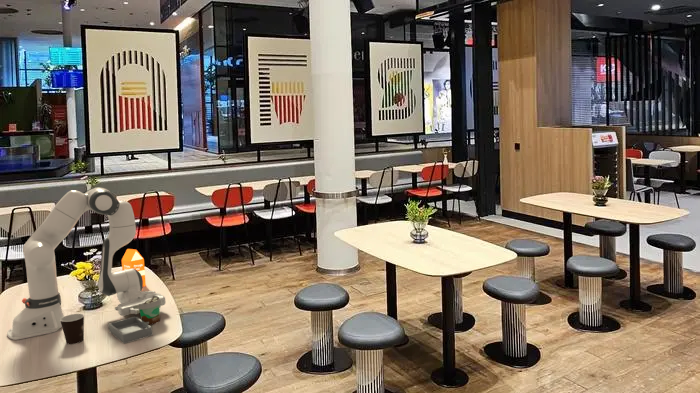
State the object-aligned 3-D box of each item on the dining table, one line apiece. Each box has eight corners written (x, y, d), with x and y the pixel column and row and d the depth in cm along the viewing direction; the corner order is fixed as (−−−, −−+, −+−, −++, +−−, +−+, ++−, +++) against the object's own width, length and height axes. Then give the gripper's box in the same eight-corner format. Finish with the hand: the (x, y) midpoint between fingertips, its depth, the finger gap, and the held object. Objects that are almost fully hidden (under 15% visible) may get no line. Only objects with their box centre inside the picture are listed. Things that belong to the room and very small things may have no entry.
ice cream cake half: (153, 327, 236) (151, 305, 234) (140, 327, 237) (138, 304, 236) (167, 316, 248) (165, 295, 246) (155, 316, 249) (153, 295, 248)
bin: (124, 343, 220) (123, 335, 220) (109, 331, 234) (108, 323, 233) (152, 335, 228) (151, 327, 227) (136, 323, 241) (135, 316, 241)
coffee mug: (77, 345, 220) (74, 322, 219) (58, 345, 222) (55, 321, 220) (95, 334, 231) (93, 311, 230) (77, 333, 233) (74, 310, 231)
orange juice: (136, 284, 300) (133, 247, 298) (146, 285, 295) (143, 248, 293) (123, 287, 293) (120, 250, 292) (132, 288, 288) (130, 250, 287)
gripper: (112, 301, 246) (123, 308, 235) (157, 289, 259) (169, 296, 249) (114, 314, 247) (125, 322, 236) (158, 302, 260) (171, 309, 250)
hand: (148, 309), depth 243 cm, fingers open, 8 cm apart
